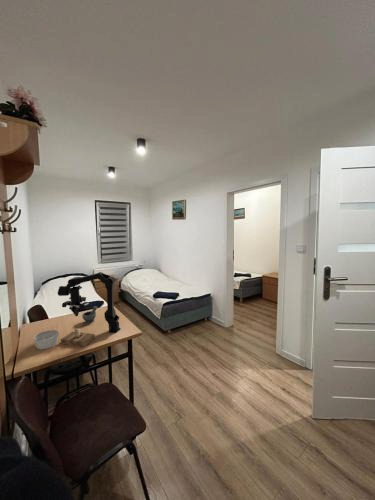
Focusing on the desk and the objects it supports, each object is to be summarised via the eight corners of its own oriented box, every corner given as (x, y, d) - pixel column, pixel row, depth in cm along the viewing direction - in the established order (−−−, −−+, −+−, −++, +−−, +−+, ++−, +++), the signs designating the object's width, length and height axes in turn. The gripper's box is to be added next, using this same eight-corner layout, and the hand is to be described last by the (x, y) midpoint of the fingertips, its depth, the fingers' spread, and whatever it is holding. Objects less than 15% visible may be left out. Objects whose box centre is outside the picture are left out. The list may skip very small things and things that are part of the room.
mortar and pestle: (82, 325, 160) (81, 310, 158) (82, 320, 168) (81, 306, 166) (98, 322, 164) (97, 308, 163) (97, 317, 173) (96, 304, 171)
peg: (81, 339, 140) (80, 328, 139) (78, 342, 137) (77, 330, 136) (77, 339, 141) (76, 328, 140) (74, 341, 138) (73, 330, 137)
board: (94, 338, 141) (94, 334, 141) (84, 346, 132) (84, 342, 131) (72, 335, 146) (72, 331, 145) (60, 343, 136) (60, 339, 135)
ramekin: (55, 337, 144) (54, 327, 143) (62, 343, 136) (61, 333, 135) (32, 346, 134) (30, 335, 133) (38, 353, 125) (37, 343, 125)
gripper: (93, 292, 153) (95, 312, 154) (72, 290, 157) (74, 310, 159) (83, 297, 142) (85, 319, 144) (60, 295, 146) (62, 316, 148)
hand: (76, 316), depth 149 cm, fingers closed
